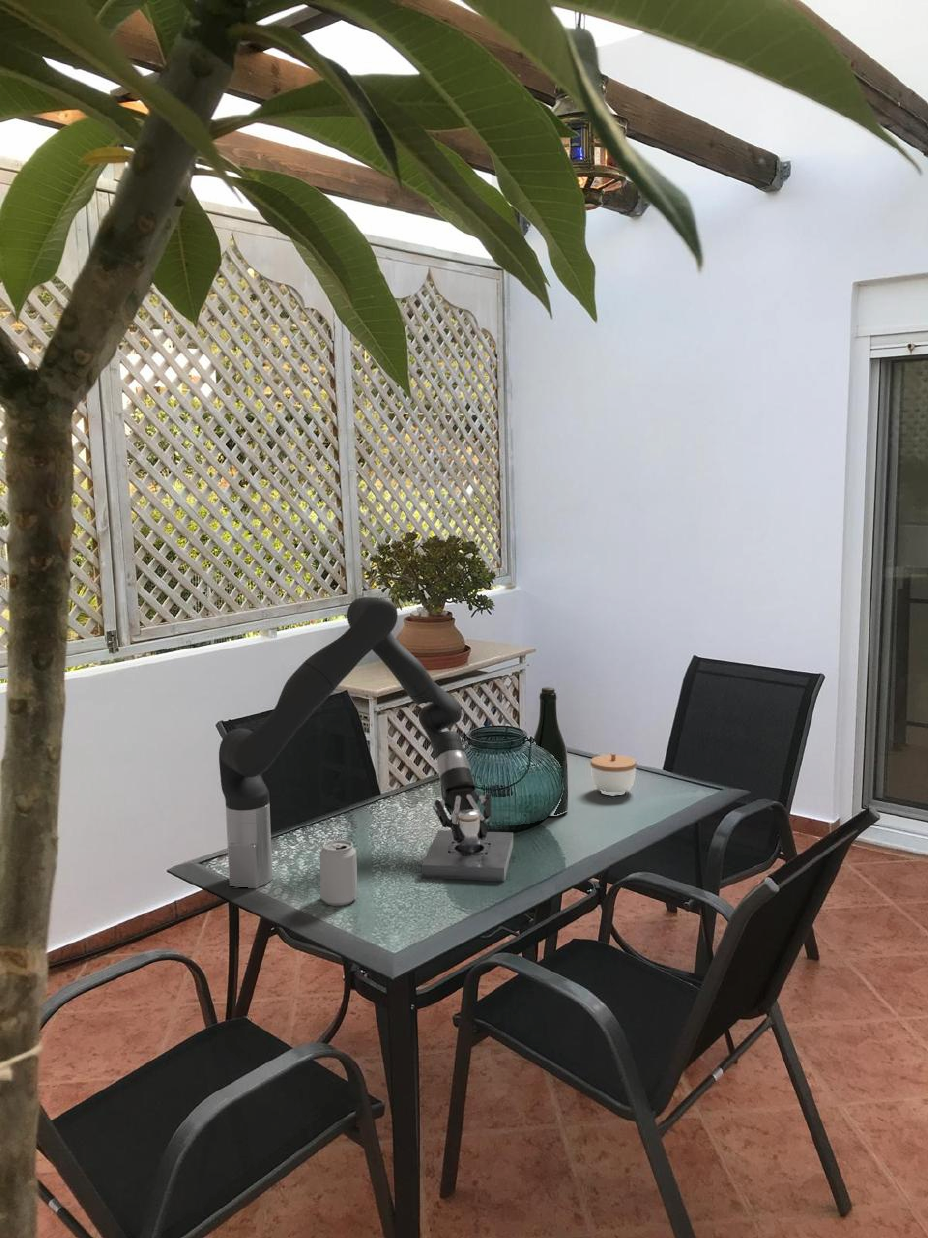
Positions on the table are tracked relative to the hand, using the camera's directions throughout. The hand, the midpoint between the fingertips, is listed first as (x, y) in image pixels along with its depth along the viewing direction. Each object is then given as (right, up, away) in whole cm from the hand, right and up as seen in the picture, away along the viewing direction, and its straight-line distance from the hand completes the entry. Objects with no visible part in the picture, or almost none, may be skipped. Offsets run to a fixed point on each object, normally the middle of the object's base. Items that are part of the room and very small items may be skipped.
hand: (471, 839), depth 218 cm
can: (-27, -9, -18) cm, 34 cm away
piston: (0, -4, +2) cm, 5 cm away
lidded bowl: (+40, +1, +51) cm, 64 cm away
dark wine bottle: (+20, -1, +36) cm, 41 cm away
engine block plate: (0, -5, +2) cm, 6 cm away
